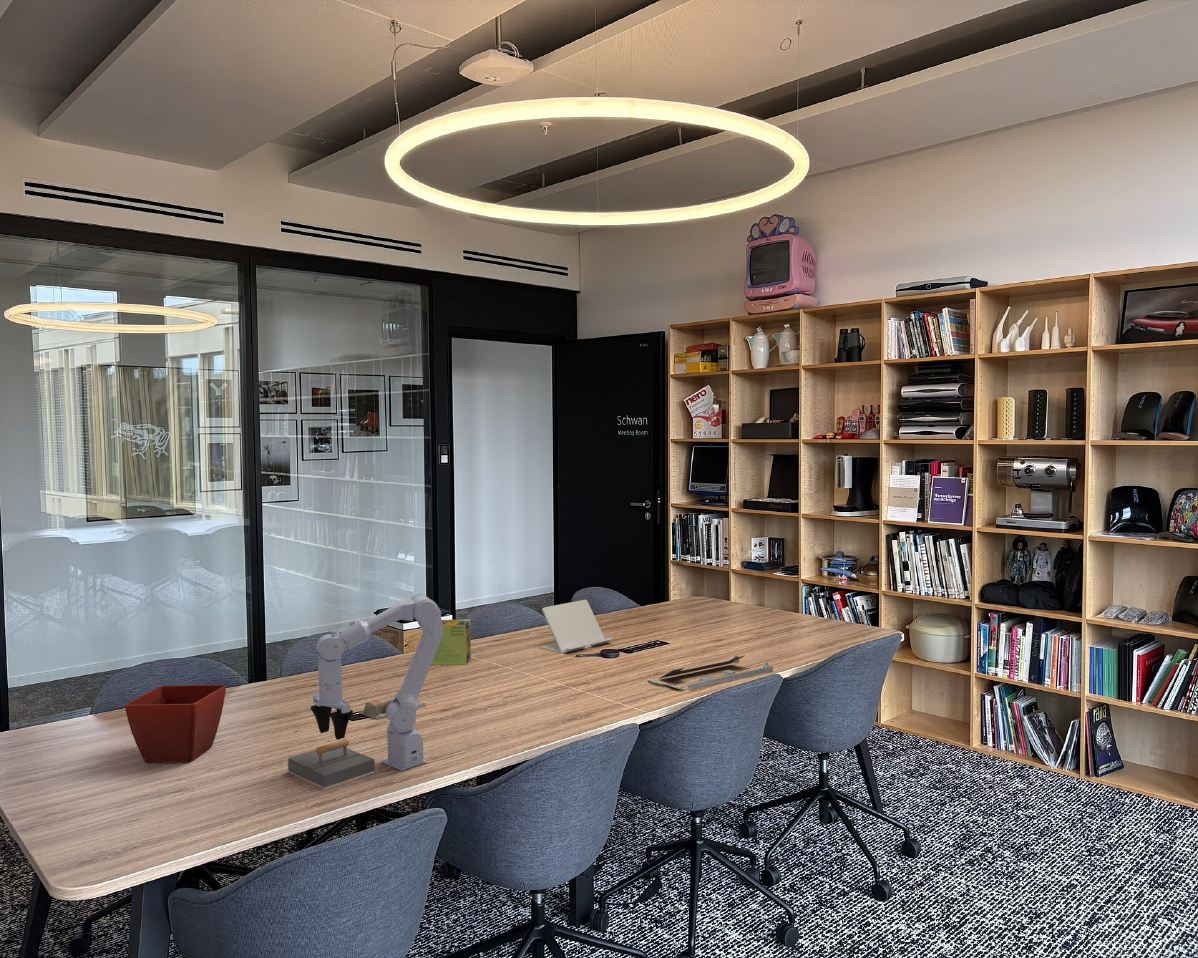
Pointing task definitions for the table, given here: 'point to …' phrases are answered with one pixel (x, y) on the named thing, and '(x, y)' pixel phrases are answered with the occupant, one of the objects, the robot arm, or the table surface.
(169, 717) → the plant pot
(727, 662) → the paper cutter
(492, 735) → the table surface
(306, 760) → the grill press
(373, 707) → the packaged product
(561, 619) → the tablet stand
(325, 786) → the charcoal shallow open tray
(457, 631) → the protein box
